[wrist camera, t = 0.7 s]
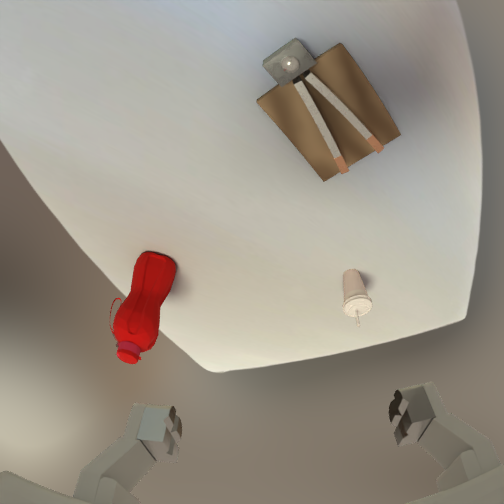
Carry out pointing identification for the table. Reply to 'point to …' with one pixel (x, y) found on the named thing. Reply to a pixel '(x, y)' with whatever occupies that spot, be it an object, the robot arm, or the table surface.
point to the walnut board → (330, 113)
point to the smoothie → (355, 295)
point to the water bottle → (143, 306)
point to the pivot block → (288, 62)
